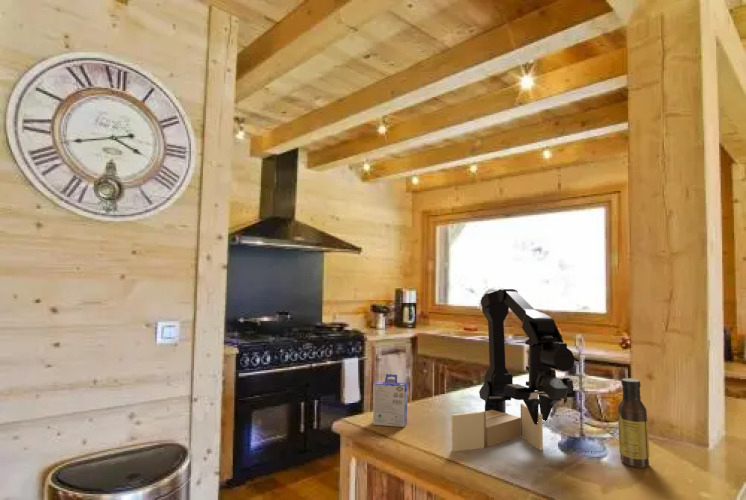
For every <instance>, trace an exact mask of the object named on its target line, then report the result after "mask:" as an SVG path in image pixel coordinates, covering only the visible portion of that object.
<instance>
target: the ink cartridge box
mask: <svg viewBox="0 0 746 500" xmlns="http://www.w3.org/2000/svg"><path fill="white" fill-rule="evenodd" d="M391 377H393V379H392V378H391ZM372 409H373V413H372V415H373V416H372V419H373V420H372V425H374V426H383V427H385V426H387V427H401V428H405V427H406V425H407V423H408V382H404V381H403V382H401V381H398V374H388V373H386V374H385V379H384V381H379V380H378V381H376V382H375V383H374V384H373V408H372Z"/></svg>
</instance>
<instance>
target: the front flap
mask: <svg viewBox="0 0 746 500" xmlns="http://www.w3.org/2000/svg"><path fill="white" fill-rule="evenodd" d="M486 448H487V447H486V412H485V411H476V412H474V411H473V412H465V413H464V412H463V413H453V414H451V451H452V452H461V451H468V450H469V451H470V450H478V449H486Z"/></svg>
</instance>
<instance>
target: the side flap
mask: <svg viewBox="0 0 746 500" xmlns="http://www.w3.org/2000/svg"><path fill="white" fill-rule="evenodd" d="M520 418H521V436H520V437H521V438H523V439H524V440H525V441H527V442H528V443H530V444H531V445H532V446H533V447H535V448H536V449H538V450H539V451H543V450H544V447H543V445H544V443H543V441H544V439H543V438H544V436H543V432H544V431H543V429H544V428H543V425H544V424H543V423H542V414H541V413H540V411H538V423H537V425H536V424H534V422H533V420H532V418H531V415H530V413H529V411H528V408H527V406H526V404H525V403H520ZM542 424H543V425H542Z"/></svg>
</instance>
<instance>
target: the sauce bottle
mask: <svg viewBox="0 0 746 500" xmlns="http://www.w3.org/2000/svg"><path fill="white" fill-rule="evenodd" d="M620 383H621V386H622V399H621V401H620V402H619V404H618V406H617V420H618V443H619V444H618V445H619V447H618V448H619V455H620V461H621V462H622V463H623V464H625V465H627V466H629V467H634V468H637V469H638V468H639V469H641V468H642V469H643V468H648V466H649V465H650V460H649V459H650V444H649V443H650V441H649V424H648V423H649V422H648V421H649V420H648V411H647V408H646V406H645V405H644V403H643V402H642V398H641V380H639V379H636V378H631V377H629V378H621V382H620Z"/></svg>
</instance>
